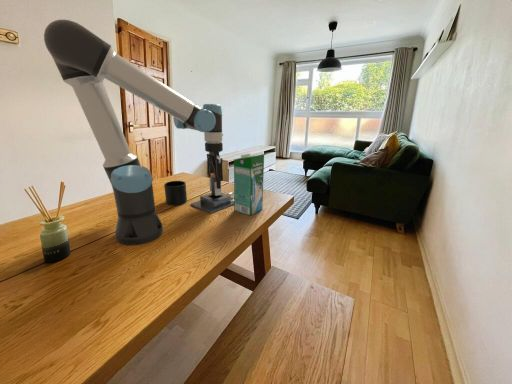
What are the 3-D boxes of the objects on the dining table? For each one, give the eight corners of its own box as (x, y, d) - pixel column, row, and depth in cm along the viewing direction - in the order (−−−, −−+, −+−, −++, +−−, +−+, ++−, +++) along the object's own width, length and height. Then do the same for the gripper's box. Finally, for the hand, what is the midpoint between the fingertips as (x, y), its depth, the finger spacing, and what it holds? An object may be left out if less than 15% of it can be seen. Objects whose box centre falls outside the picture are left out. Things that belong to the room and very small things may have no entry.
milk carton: (246, 204, 115) (247, 151, 107) (262, 209, 110) (264, 153, 102) (234, 210, 108) (233, 153, 100) (250, 215, 103) (251, 156, 95)
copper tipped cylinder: (213, 204, 112) (212, 174, 108) (210, 201, 115) (209, 172, 111) (221, 202, 114) (220, 173, 109) (218, 200, 117) (217, 171, 113)
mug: (191, 197, 123) (190, 179, 120) (182, 206, 111) (180, 187, 108) (173, 196, 124) (172, 178, 121) (162, 204, 112) (160, 186, 109)
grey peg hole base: (210, 213, 104) (209, 205, 103) (190, 205, 113) (190, 197, 111) (245, 200, 120) (245, 192, 119) (226, 193, 129) (226, 186, 127)
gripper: (230, 144, 99) (231, 198, 107) (214, 139, 115) (215, 185, 123) (212, 145, 96) (214, 200, 103) (198, 139, 112) (201, 187, 119)
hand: (215, 192), depth 113 cm, fingers open, 6 cm apart
